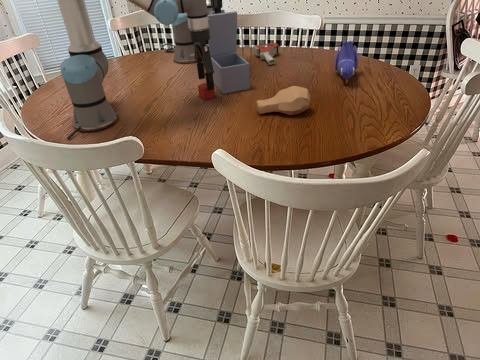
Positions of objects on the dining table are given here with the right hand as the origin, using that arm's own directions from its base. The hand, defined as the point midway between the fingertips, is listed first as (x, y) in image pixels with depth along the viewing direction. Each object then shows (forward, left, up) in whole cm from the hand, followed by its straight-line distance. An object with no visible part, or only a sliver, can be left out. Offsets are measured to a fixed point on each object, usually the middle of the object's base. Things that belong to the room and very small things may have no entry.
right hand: (218, 24), depth 153 cm
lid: (+6, -1, -3) cm, 7 cm away
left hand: (+17, -16, -17) cm, 29 cm away
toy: (+37, +41, -23) cm, 60 cm away
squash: (+48, 0, -23) cm, 53 cm away
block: (+17, -17, -23) cm, 33 cm away
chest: (+12, -2, -23) cm, 26 cm away
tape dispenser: (-8, +30, -23) cm, 39 cm away
